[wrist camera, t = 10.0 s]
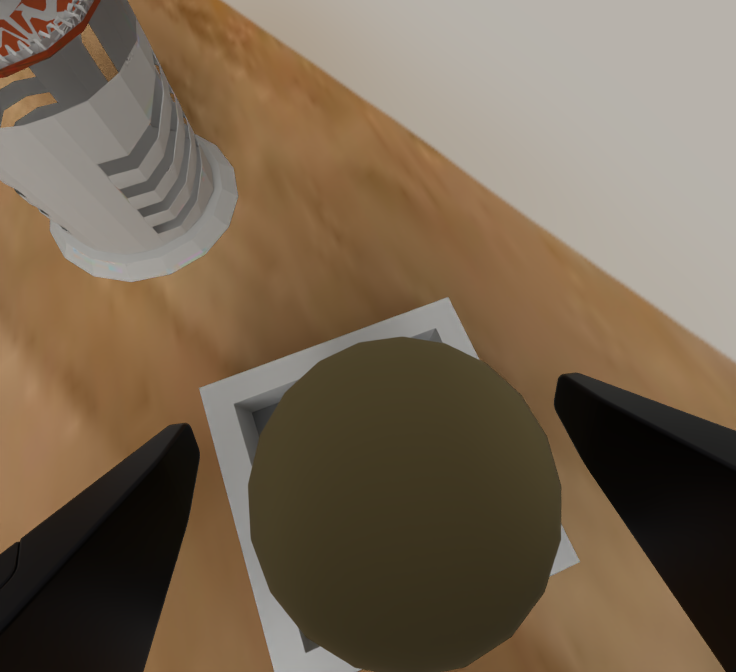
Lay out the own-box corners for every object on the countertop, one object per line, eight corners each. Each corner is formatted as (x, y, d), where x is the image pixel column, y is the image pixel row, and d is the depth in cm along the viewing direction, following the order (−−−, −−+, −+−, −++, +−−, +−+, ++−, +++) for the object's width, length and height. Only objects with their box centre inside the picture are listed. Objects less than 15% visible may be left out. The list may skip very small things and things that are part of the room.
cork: (395, 594, 14) (494, 941, 4) (270, 490, 15) (83, 545, 5) (479, 456, 16) (709, 439, 6) (361, 370, 17) (366, 219, 7)
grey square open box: (533, 541, 16) (579, 561, 13) (300, 652, 15) (283, 707, 11) (432, 326, 19) (448, 296, 15) (229, 402, 17) (198, 388, 14)
